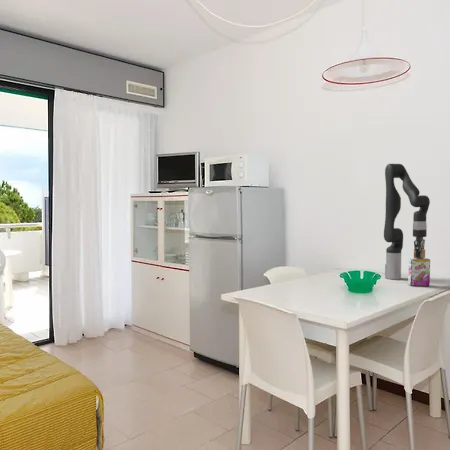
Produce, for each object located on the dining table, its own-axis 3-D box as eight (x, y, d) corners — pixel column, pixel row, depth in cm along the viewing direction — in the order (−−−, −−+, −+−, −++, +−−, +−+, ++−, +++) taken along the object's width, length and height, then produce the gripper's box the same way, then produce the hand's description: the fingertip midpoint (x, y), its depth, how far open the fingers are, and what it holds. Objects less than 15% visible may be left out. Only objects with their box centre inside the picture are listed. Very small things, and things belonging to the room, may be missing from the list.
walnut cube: (413, 257, 251) (413, 249, 251) (416, 257, 255) (416, 248, 255) (422, 258, 248) (422, 250, 248) (425, 257, 252) (425, 249, 252)
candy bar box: (410, 286, 251) (411, 259, 250) (407, 284, 256) (408, 258, 255) (430, 286, 250) (430, 259, 249) (427, 284, 255) (427, 258, 254)
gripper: (416, 228, 259) (416, 255, 260) (409, 229, 248) (409, 257, 249) (429, 228, 254) (429, 256, 255) (422, 229, 243) (422, 258, 244)
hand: (419, 256), depth 252 cm, fingers closed on walnut cube, 4 cm apart
